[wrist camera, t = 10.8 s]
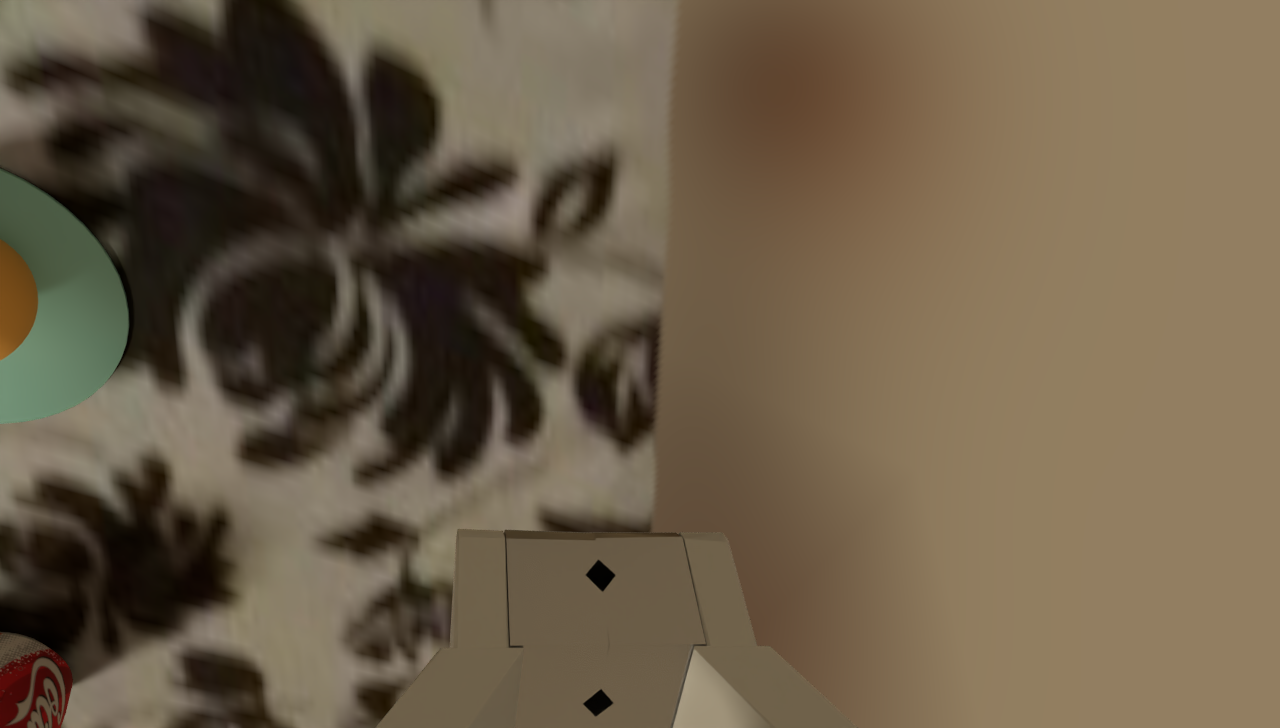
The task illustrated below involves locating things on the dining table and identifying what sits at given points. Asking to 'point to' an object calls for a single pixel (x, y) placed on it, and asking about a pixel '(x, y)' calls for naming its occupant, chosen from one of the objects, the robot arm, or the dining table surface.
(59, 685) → the soda can
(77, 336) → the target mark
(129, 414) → the dining table surface
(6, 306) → the ball
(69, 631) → the dining table surface
